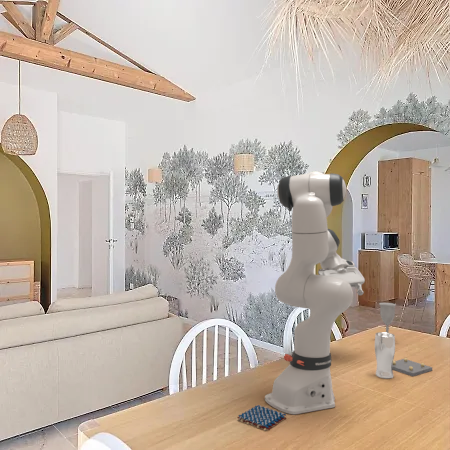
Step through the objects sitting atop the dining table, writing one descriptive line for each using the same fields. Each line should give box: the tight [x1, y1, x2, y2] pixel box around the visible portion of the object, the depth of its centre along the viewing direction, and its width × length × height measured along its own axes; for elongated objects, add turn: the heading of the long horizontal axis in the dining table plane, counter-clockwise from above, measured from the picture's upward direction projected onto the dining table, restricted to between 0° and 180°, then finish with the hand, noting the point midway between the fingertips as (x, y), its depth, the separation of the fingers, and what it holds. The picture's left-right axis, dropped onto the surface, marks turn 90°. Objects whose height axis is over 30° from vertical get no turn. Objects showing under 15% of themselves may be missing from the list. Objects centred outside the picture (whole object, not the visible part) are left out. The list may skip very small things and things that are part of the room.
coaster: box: [392, 357, 433, 377], centre depth 167 cm, size 12×12×2 cm
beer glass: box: [374, 331, 396, 379], centre depth 159 cm, size 7×7×15 cm
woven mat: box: [237, 404, 287, 432], centre depth 124 cm, size 10×11×2 cm
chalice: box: [378, 302, 397, 333], centre depth 200 cm, size 7×7×18 cm
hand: (353, 295), depth 171 cm, fingers open, 8 cm apart
